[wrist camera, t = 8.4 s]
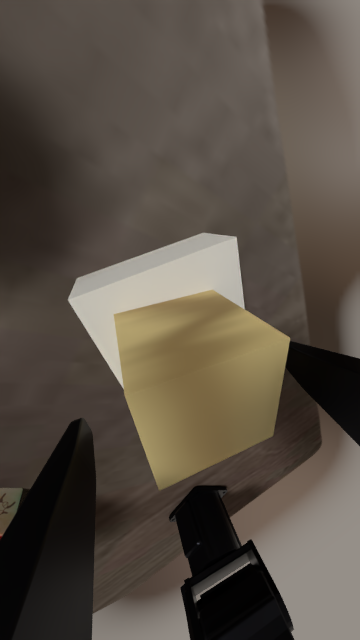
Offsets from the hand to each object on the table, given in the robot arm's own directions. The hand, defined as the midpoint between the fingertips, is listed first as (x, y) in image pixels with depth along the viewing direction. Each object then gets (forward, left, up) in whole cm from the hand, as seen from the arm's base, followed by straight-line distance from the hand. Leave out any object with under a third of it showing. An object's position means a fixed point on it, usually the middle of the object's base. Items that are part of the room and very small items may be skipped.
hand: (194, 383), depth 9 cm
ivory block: (0, -1, -7) cm, 7 cm away
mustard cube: (0, 0, -3) cm, 3 cm away
